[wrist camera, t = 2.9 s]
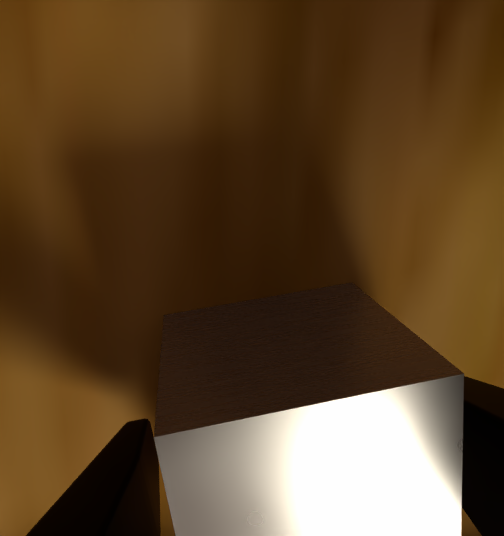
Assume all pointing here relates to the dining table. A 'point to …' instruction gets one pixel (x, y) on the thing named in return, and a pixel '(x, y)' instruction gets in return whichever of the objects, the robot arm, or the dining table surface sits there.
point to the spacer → (307, 420)
